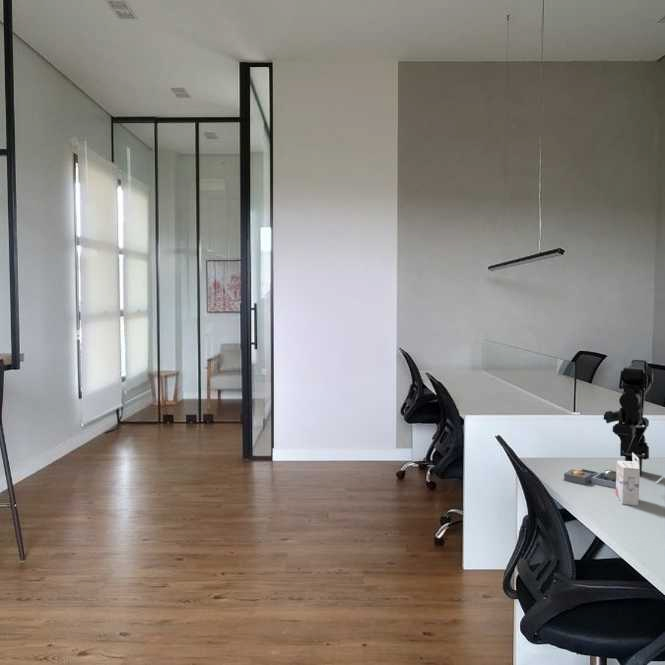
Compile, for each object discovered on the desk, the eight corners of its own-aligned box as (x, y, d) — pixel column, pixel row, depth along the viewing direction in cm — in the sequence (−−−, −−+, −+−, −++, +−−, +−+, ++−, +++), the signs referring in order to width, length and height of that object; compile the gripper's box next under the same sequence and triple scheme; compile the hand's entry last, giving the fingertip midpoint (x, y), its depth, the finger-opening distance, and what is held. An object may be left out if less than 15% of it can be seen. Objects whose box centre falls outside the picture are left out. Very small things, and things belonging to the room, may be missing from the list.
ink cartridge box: (614, 495, 196) (616, 450, 195) (631, 496, 195) (633, 451, 194) (621, 504, 187) (623, 457, 186) (638, 506, 186) (641, 458, 185)
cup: (600, 478, 213) (600, 471, 213) (628, 484, 207) (629, 477, 207) (591, 485, 206) (591, 477, 206) (620, 491, 200) (620, 483, 200)
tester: (578, 471, 221) (579, 463, 221) (601, 476, 216) (602, 468, 216) (562, 481, 209) (562, 473, 209) (586, 487, 204) (586, 478, 204)
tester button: (575, 477, 211) (575, 470, 211) (583, 479, 209) (584, 472, 209) (572, 479, 209) (572, 472, 209) (580, 481, 207) (581, 473, 207)
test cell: (606, 480, 209) (606, 468, 209) (617, 483, 207) (617, 471, 206) (602, 483, 206) (603, 471, 206) (614, 485, 204) (614, 473, 204)
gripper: (616, 397, 219) (614, 440, 220) (597, 405, 205) (595, 450, 207) (650, 402, 211) (648, 446, 213) (632, 410, 198) (630, 457, 199)
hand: (629, 449), depth 208 cm, fingers open, 9 cm apart
